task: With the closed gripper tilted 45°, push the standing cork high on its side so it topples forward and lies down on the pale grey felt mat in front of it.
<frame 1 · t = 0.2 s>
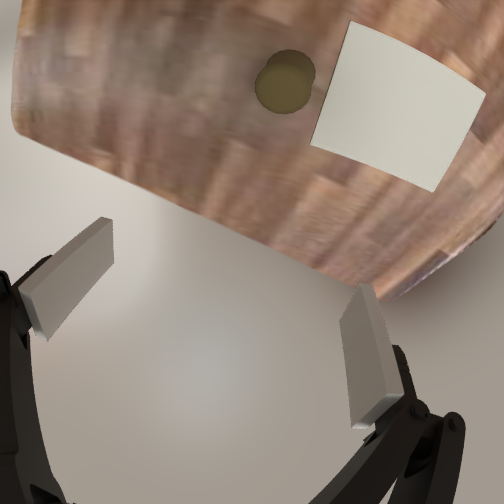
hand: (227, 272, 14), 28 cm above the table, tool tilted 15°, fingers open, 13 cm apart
felt mat: (402, 112, 30), on the table
cork: (290, 71, 30), on the table
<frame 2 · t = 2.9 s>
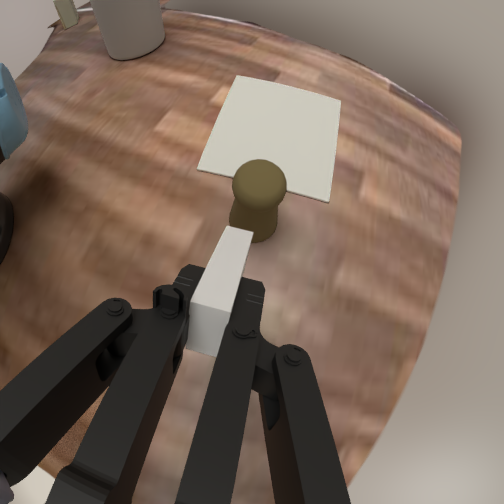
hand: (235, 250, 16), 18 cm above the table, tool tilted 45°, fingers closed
cylinder vase: (137, 45, 45), on the table
felt mat: (277, 129, 40), on the table
cork: (253, 220, 36), on the table
skincare box: (72, 23, 49), on the table
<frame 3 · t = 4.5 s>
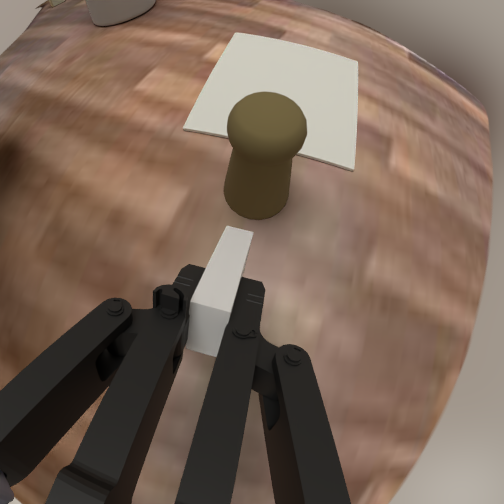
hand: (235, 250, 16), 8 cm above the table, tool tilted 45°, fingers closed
cylinder vase: (124, 12, 35), on the table
felt mat: (285, 85, 30), on the table
cork: (256, 190, 27), on the table
skincare box: (60, 1, 39), on the table
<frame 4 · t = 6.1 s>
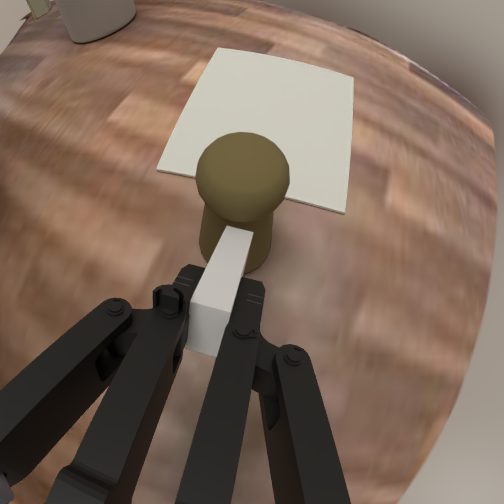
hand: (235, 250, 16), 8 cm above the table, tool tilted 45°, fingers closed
cylinder vase: (103, 25, 33), on the table
felt mat: (270, 111, 28), on the table
cork: (235, 240, 24), on the table
skincare box: (43, 13, 37), on the table
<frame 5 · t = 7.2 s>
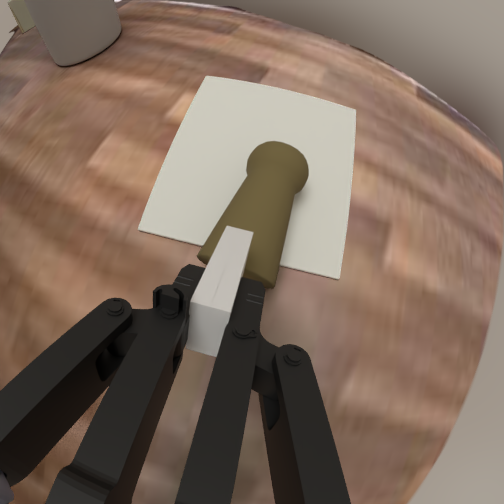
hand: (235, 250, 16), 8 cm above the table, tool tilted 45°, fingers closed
cylinder vase: (88, 45, 32), on the table
felt mat: (262, 157, 27), on the table
cork: (234, 275, 21), point 3 cm above the table, touching felt mat
skincare box: (31, 25, 36), on the table
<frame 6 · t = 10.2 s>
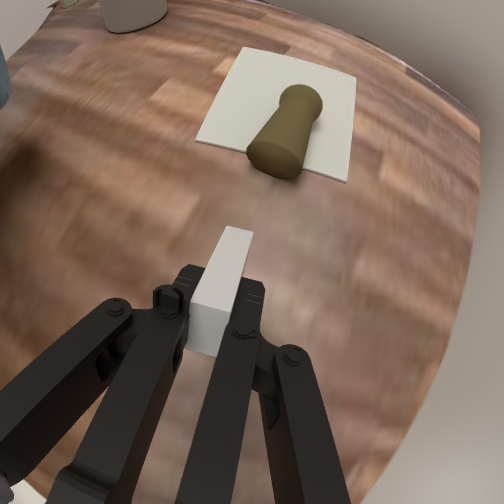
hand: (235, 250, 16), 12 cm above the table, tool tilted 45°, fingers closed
cylinder vase: (137, 19, 39), on the table
felt mat: (287, 101, 34), on the table
cork: (272, 162, 28), point 3 cm above the table, touching felt mat
skincare box: (72, 2, 42), on the table
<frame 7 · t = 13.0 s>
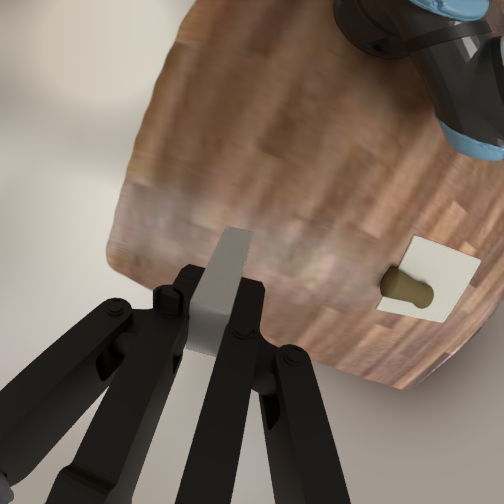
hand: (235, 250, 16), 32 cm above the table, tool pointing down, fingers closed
felt mat: (431, 283, 52), on the table
cork: (388, 281, 50), point 3 cm above the table, touching felt mat
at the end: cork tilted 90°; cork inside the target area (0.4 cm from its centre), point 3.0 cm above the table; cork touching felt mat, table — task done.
